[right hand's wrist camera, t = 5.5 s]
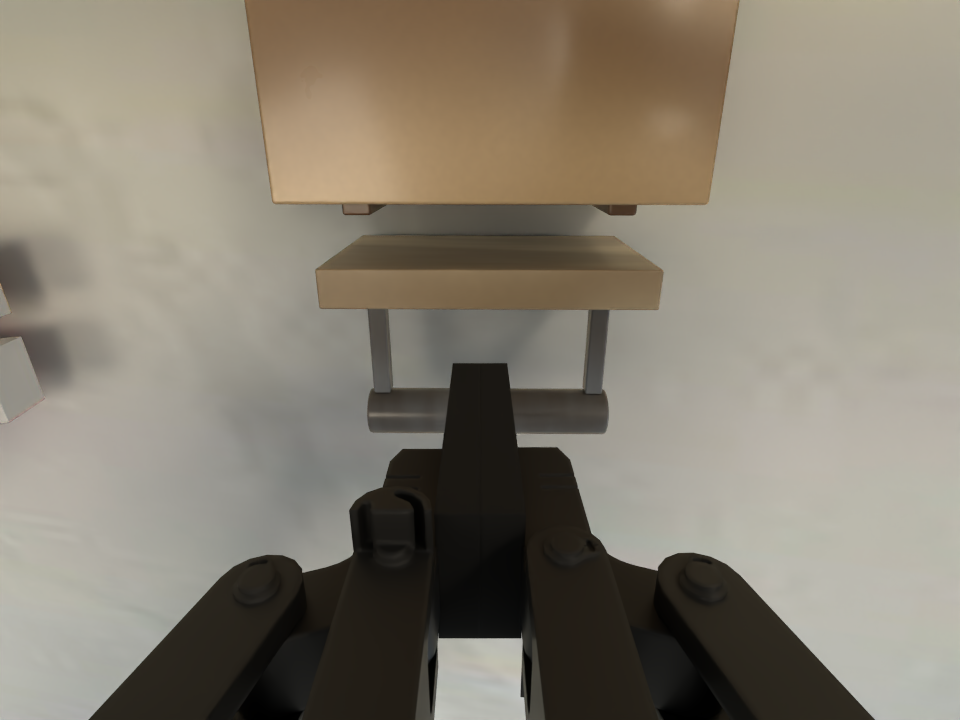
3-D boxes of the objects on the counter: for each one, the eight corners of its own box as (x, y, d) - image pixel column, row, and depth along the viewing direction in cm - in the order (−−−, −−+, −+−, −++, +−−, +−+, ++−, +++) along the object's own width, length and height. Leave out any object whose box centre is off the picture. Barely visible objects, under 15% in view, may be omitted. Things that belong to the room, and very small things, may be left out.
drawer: (601, 385, 24) (639, 464, 18) (374, 384, 24) (336, 463, 18) (672, -391, 15) (795, -746, 9) (312, -387, 15) (198, -736, 9)
